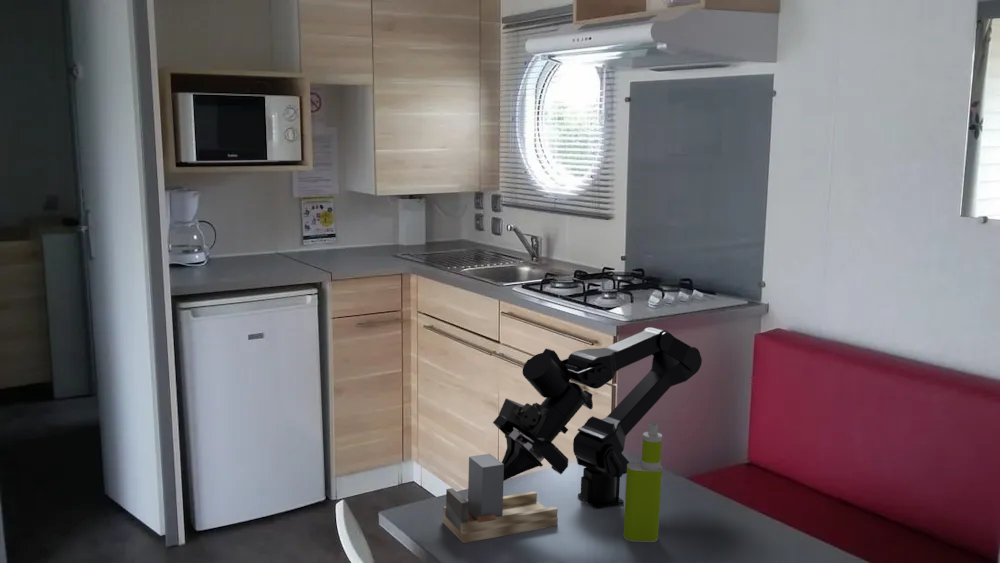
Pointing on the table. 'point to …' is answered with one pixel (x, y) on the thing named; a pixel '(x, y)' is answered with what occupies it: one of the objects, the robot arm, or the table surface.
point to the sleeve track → (516, 517)
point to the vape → (644, 490)
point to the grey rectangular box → (485, 486)
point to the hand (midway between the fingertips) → (497, 479)
